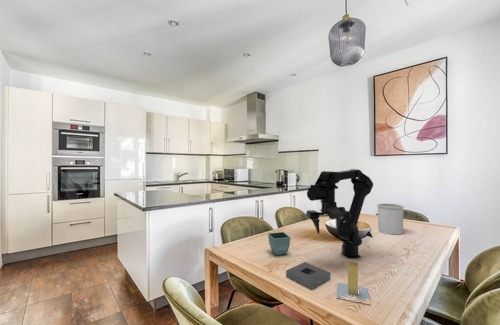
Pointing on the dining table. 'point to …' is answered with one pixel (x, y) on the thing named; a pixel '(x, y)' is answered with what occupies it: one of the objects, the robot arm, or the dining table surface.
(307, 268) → the socket plate
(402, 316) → the dining table surface
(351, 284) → the brass peg
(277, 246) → the flower pot
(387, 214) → the utensil holder
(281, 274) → the dining table surface
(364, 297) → the rubber mat
